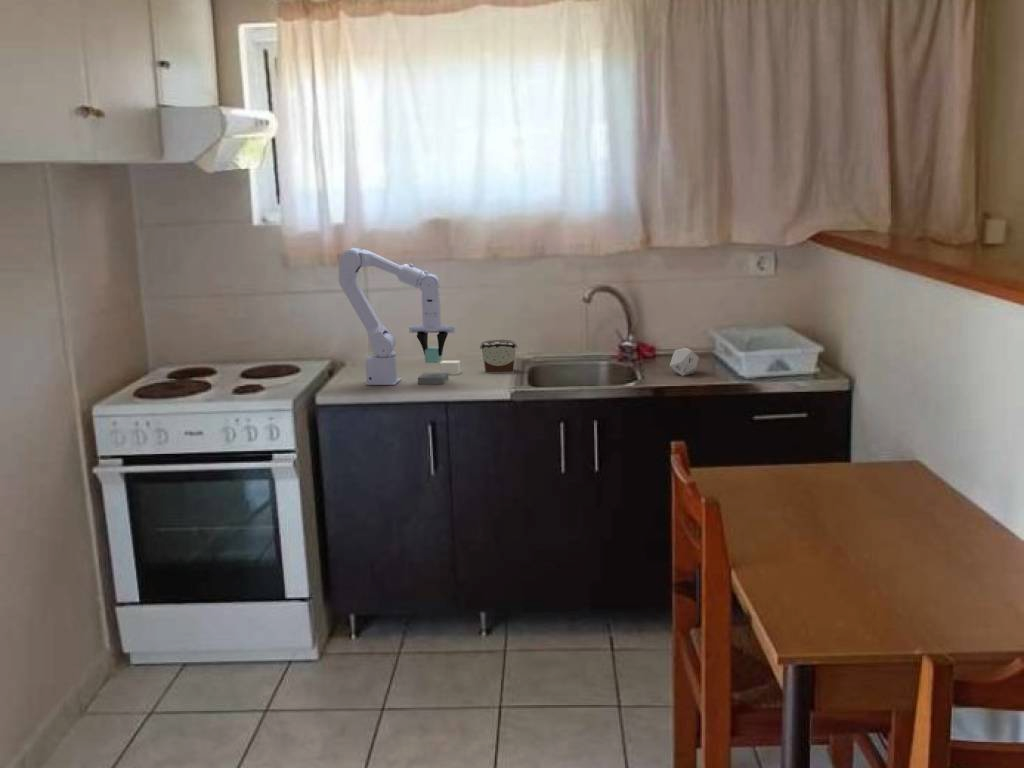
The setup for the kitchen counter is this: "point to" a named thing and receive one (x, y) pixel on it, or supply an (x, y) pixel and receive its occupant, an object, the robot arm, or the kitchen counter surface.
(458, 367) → the cream brick
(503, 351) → the food container
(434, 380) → the charcoal slab
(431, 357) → the teal brick
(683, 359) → the die
